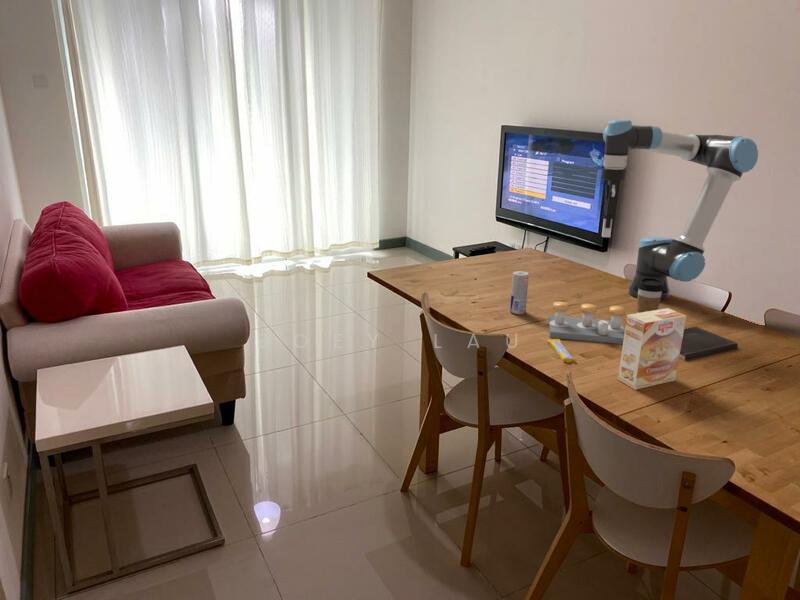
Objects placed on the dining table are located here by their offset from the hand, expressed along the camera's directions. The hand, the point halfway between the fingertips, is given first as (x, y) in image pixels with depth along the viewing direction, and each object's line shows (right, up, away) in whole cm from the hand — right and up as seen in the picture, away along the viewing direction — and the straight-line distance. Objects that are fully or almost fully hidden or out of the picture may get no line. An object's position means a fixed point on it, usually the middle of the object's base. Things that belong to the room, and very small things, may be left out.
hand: (605, 236), depth 214 cm
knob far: (-18, -30, -7) cm, 36 cm away
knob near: (-1, -31, -11) cm, 33 cm away
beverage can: (-29, -27, +9) cm, 40 cm away
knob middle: (-9, -31, -9) cm, 33 cm away
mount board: (-9, -33, -8) cm, 35 cm away
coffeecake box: (-3, -45, -43) cm, 62 cm away
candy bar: (-22, -39, -24) cm, 51 cm away
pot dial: (-6, -33, -16) cm, 37 cm away
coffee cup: (+14, -30, +1) cm, 33 cm away
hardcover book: (+21, -37, -18) cm, 46 cm away
